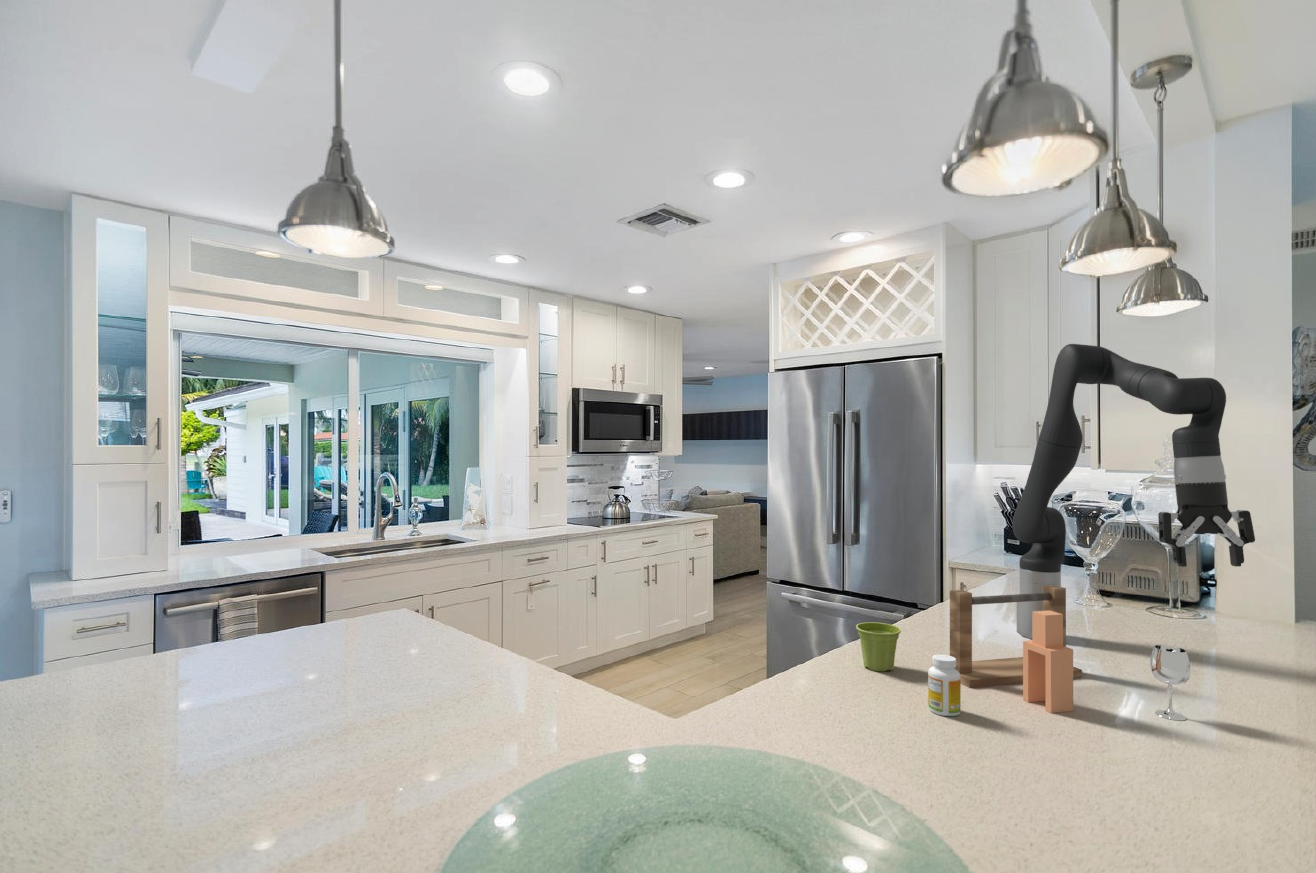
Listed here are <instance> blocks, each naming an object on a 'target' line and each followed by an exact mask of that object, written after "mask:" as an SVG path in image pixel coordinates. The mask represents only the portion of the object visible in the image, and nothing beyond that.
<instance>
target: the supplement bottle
mask: <svg viewBox="0 0 1316 873" xmlns="http://www.w3.org/2000/svg"><path fill="white" fill-rule="evenodd" d="M932 665H933V666H931V667H929V669H928V672H927V674H928V677H927V678H928V680H927V681H928V685H927V687H928V696H927V697H928V698H927V699H928V700H927V701H928V703H927V704H928V706H927V707H928V710H929V711H930V712H932V713H934V714H935V715H939V716H943V717H956V716H959V715H960V714H961V707H962V706H961V678H960V673H959V672H958V671H957V670H956V669H955V668H956V658H954V657H952V656H950V654H949V655H947V654H934V655H932Z"/></svg>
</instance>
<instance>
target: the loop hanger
mask: <svg viewBox="0 0 1316 873" xmlns="http://www.w3.org/2000/svg"><path fill="white" fill-rule="evenodd" d="M1022 657H1023V683H1022V700H1023V701H1024V702H1027V703H1034V702H1043V701H1044V702H1045V712H1048V713H1050V714H1053V713H1054V714H1055V713H1064V712H1072V711H1073V712H1074V678H1073V667H1074V649H1073V648H1071V647H1068V646H1066V647H1065V646H1063V614H1060V613H1057V612H1053V611H1050V610H1049V611H1033V612H1032V639H1029V640H1023V641H1022Z"/></svg>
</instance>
